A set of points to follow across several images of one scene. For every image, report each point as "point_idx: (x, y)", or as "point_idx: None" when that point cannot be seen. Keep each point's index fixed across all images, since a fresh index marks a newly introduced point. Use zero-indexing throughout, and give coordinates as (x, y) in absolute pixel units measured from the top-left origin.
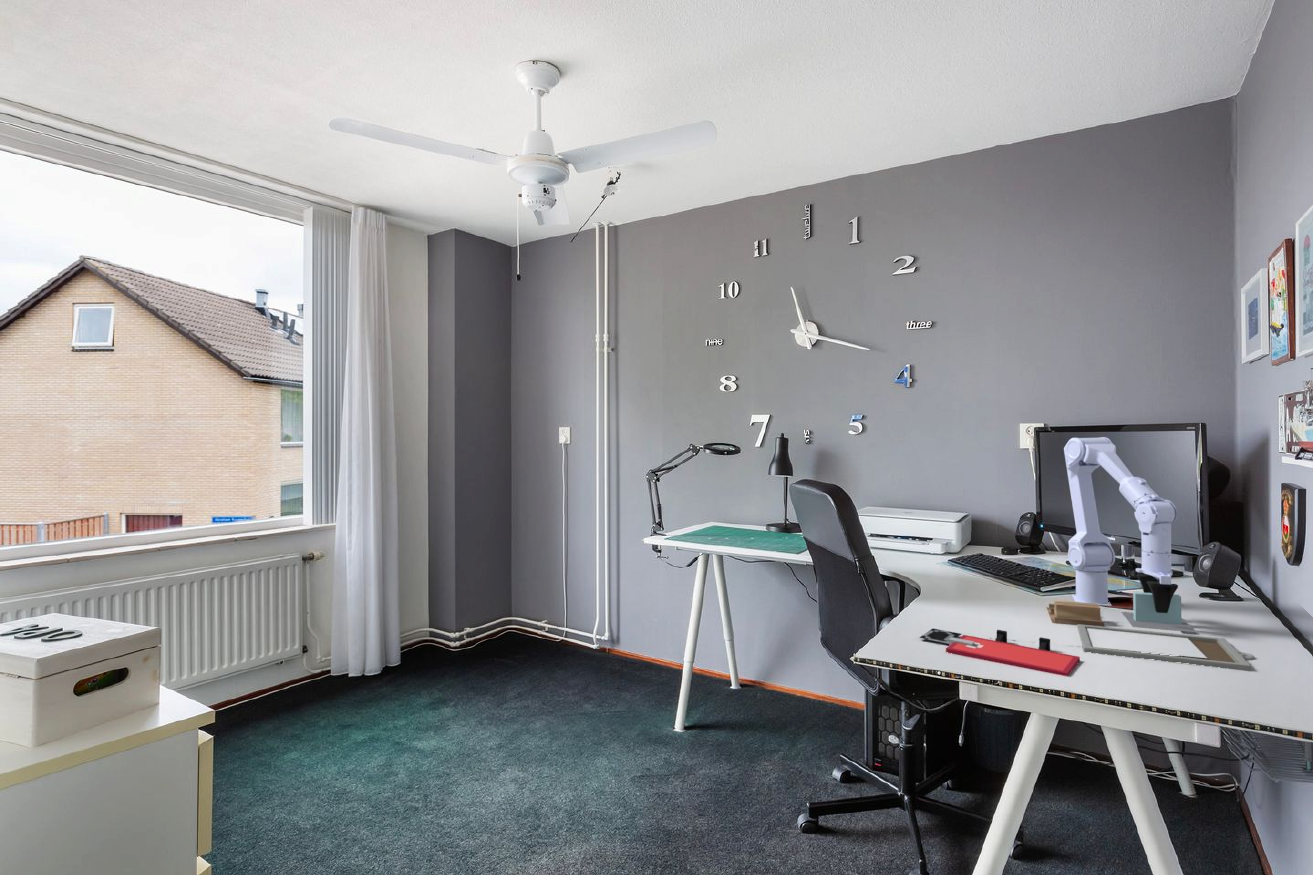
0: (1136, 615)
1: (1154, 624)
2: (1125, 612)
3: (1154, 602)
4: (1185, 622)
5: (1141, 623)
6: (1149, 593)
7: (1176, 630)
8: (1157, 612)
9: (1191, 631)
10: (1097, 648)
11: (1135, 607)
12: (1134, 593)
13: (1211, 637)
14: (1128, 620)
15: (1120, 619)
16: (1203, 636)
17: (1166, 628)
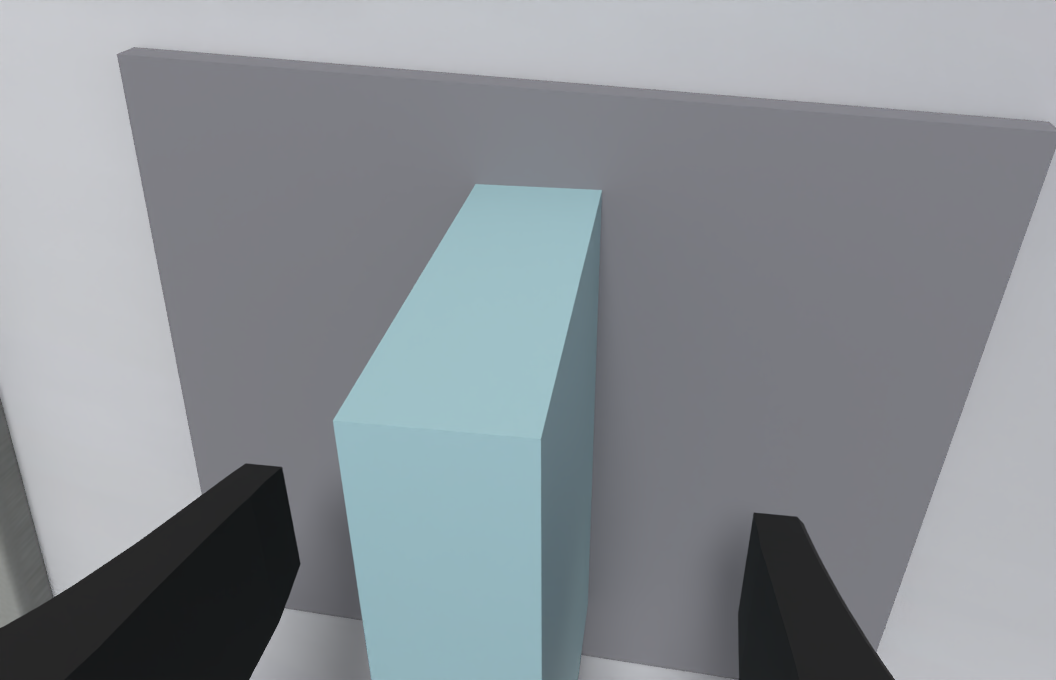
0: (456, 225)
1: (373, 349)
2: (1018, 186)
3: (157, 543)
4: (588, 649)
5: (361, 217)
6: (484, 661)
7: (200, 468)
8: (241, 466)
9: None
10: None
11: (426, 271)
12: (421, 421)
13: (8, 618)
14: (469, 90)
15: (652, 11)
16: (4, 579)
17: (235, 408)
